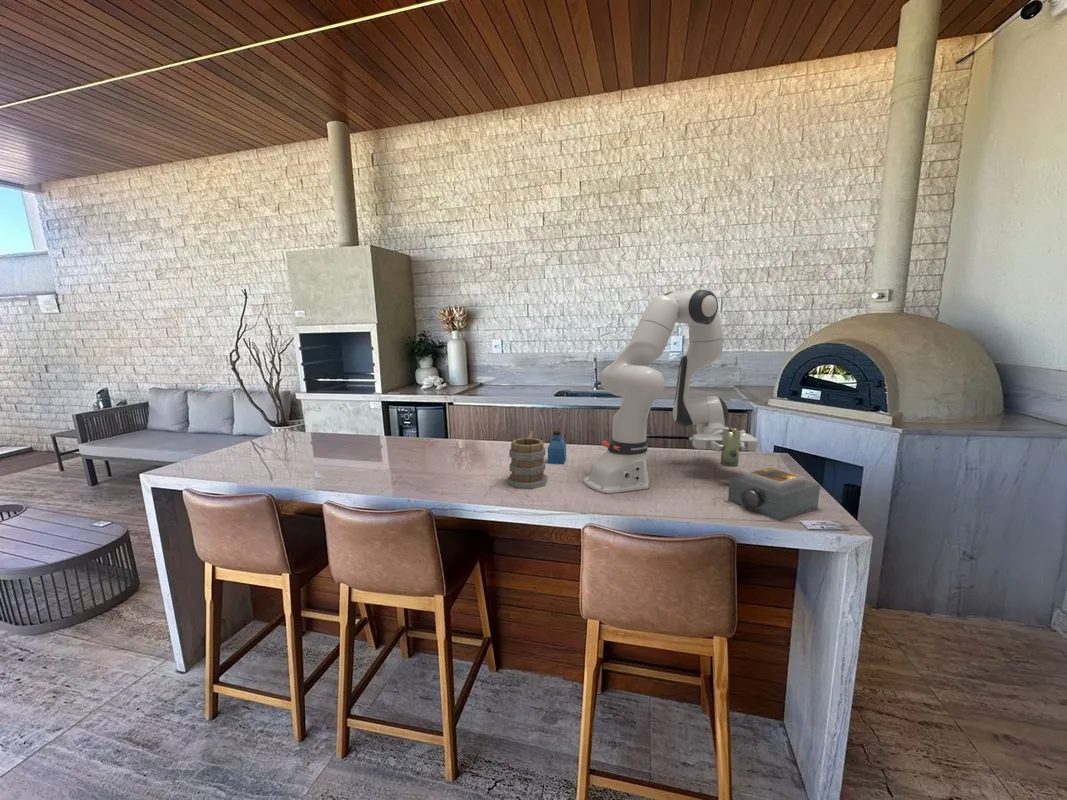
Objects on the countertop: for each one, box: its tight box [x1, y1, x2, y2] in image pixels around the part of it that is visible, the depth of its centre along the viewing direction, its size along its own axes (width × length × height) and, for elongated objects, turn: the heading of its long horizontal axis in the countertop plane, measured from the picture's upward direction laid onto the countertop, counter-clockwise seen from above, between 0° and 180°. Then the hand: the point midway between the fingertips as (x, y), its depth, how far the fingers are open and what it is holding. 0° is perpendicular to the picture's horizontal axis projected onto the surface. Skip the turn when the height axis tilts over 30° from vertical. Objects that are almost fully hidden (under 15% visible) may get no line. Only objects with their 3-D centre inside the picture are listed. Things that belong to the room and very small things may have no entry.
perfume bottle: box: [547, 429, 567, 465], centre depth 168 cm, size 6×6×12 cm
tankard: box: [507, 430, 548, 490], centre depth 149 cm, size 20×13×15 cm, turn 170°
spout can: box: [720, 427, 741, 468], centre depth 140 cm, size 6×5×13 cm
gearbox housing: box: [727, 466, 821, 522], centre depth 126 cm, size 19×16×9 cm
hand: (731, 448), depth 140 cm, fingers closed on spout can, 5 cm apart
